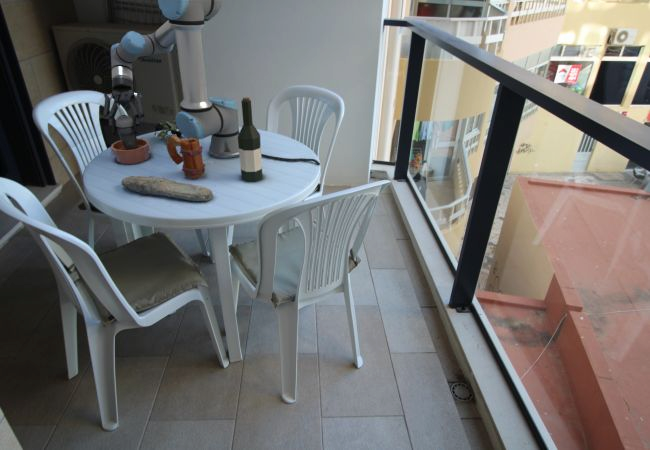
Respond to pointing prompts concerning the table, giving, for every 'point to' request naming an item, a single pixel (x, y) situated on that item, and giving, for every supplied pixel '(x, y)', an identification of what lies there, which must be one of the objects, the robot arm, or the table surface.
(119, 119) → the beverage cup
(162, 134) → the passion flower
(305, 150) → the table surface
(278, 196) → the table surface
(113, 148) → the bowl
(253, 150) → the wine bottle
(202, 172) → the mug
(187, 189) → the long grey stone
